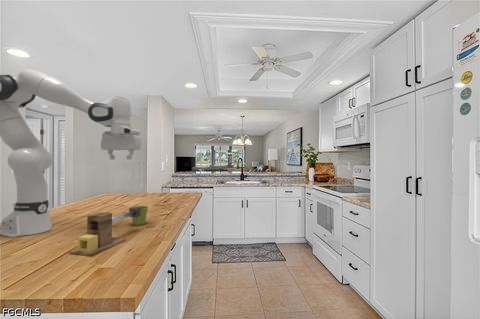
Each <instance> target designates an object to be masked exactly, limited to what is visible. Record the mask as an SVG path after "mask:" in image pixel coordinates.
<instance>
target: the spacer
mask: <svg viewBox="0 0 480 319" xmlns="http://www.w3.org/2000/svg"><path fill="white" fill-rule="evenodd" d="M77 248H78V251H82V252H91V251H93V250H96V249H98V235H91V234H87V233H86V234H83V235H81V236H77Z"/></svg>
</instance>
